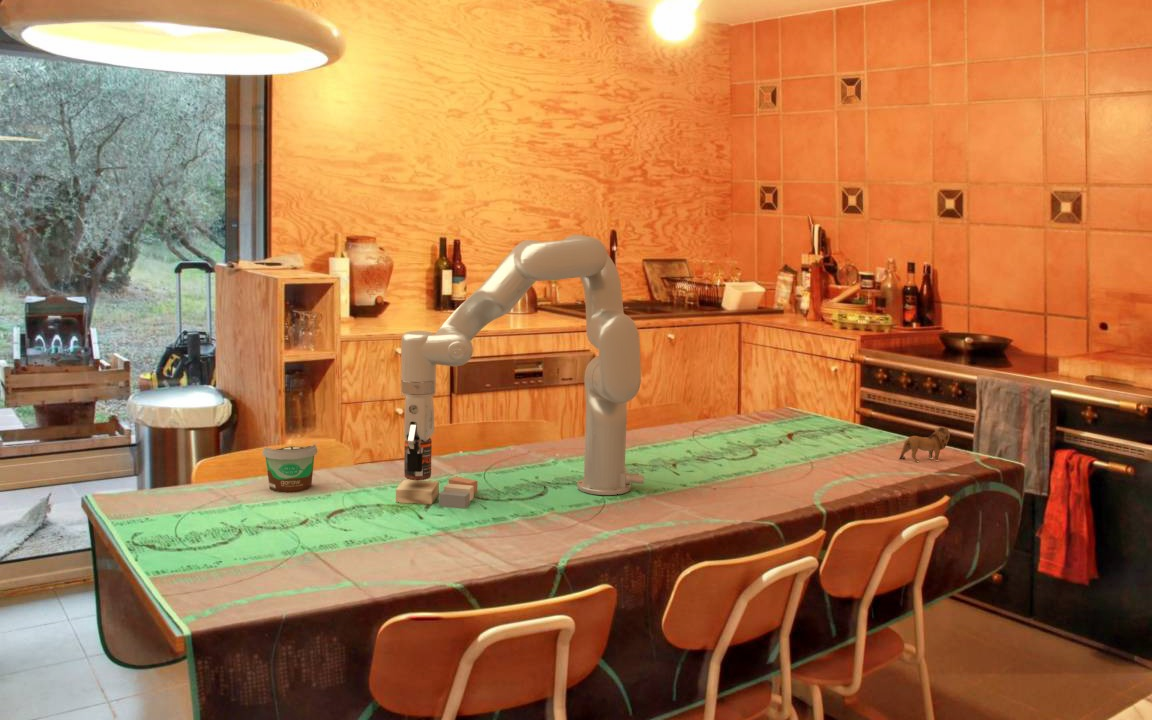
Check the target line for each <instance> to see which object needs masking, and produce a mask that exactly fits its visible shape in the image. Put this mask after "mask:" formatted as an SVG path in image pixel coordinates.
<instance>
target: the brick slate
mask: <svg viewBox="0 0 1152 720" xmlns="http://www.w3.org/2000/svg"><path fill="white" fill-rule="evenodd" d="M470 502H471V501H470V493H468V492H457V491H447V490H444V489H443V490H442V491H440V492H439V495H438V507H441V506H442V508H444V507H445V508H453V509H461V510H465V509H467V508H468V507H469V506H470Z"/></svg>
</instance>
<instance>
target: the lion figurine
mask: <svg viewBox="0 0 1152 720" xmlns="http://www.w3.org/2000/svg"><path fill="white" fill-rule="evenodd" d="M950 435H951V434H950V431H949V429H948V428H947V427H945V426H939V427H937V428H935V430H934V432H932V433H931V435H929V436H927V437H926V436H925V437H924V436H923V437H922V436H918V435H911V436H909V437H908V438H907V439H906V440H905V441H904V444H903V446H902V450H901V452H900V457H899V458H898V460H900V461H901V460H903V459H902V458H906V456H904V455H905V454H906V453H907V452H909V451H911V455H910V456H911V458H912V459H913V461H914V460H915V461H919V462H920V460H919V459H918V458H917V457H916V455H917V453H918V451H919V450H921V451H924V452H925V451H926V452H927V451H928V457H929V458H932V457H933V454H934V460H935V459H936V460H938V459H939V457H940V452H941V451H942V450H945V448H946V447H947V446H948V445H947V444H948V443H949V440H950ZM929 458H928V459H929ZM915 461H914V462H915Z"/></svg>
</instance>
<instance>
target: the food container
mask: <svg viewBox="0 0 1152 720" xmlns="http://www.w3.org/2000/svg"><path fill="white" fill-rule="evenodd" d="M317 454H319V453H318V447H317V445H316V443H315V441H314V442H313V445H309V446H292V445H291V446H286V447H285V446H284V447H281V448H276V449H275V448H269V447H267V446H264V448H263V450H262V454H261V455H262V457H264V458H265V462H266V472H267V479H268V485H269V486H268V487H269V489H270V490H271V491H273V492H277V493H284V494H285V493H286V494H290V493H300V492H305V491H307V490H310V489H311V488H312V485H313V475H314V474H313V473H314V463H315V455H317Z"/></svg>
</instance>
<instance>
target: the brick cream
mask: <svg viewBox="0 0 1152 720" xmlns="http://www.w3.org/2000/svg"><path fill="white" fill-rule="evenodd" d="M443 490H447V491H457V492H468V493H470V502H471V501H472V500H473V499H474V495H475V494H474V486H470V485H459V484H449V483H447V484H446V485H444V486H443Z"/></svg>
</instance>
